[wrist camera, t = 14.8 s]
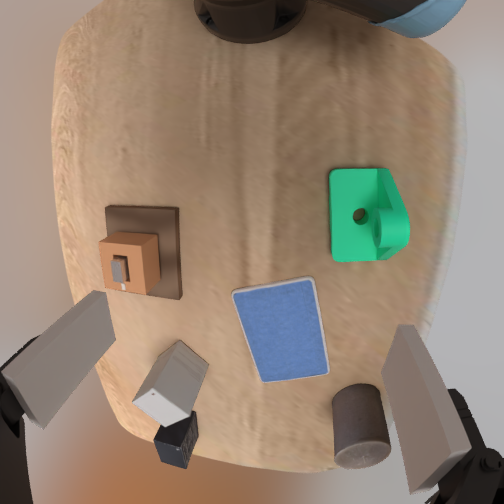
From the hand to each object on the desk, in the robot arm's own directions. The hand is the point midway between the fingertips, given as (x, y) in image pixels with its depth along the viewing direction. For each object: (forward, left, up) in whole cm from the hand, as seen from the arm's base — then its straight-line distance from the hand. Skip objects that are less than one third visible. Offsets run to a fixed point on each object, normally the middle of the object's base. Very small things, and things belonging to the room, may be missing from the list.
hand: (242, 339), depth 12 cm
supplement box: (+29, -15, -29) cm, 44 cm away
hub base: (+8, -20, -29) cm, 36 cm away
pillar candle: (+35, +18, -29) cm, 49 cm away
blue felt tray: (+20, +2, -29) cm, 36 cm away
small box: (+49, -17, -29) cm, 59 cm away
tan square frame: (+8, -20, -27) cm, 34 cm away
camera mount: (0, +11, -29) cm, 31 cm away
